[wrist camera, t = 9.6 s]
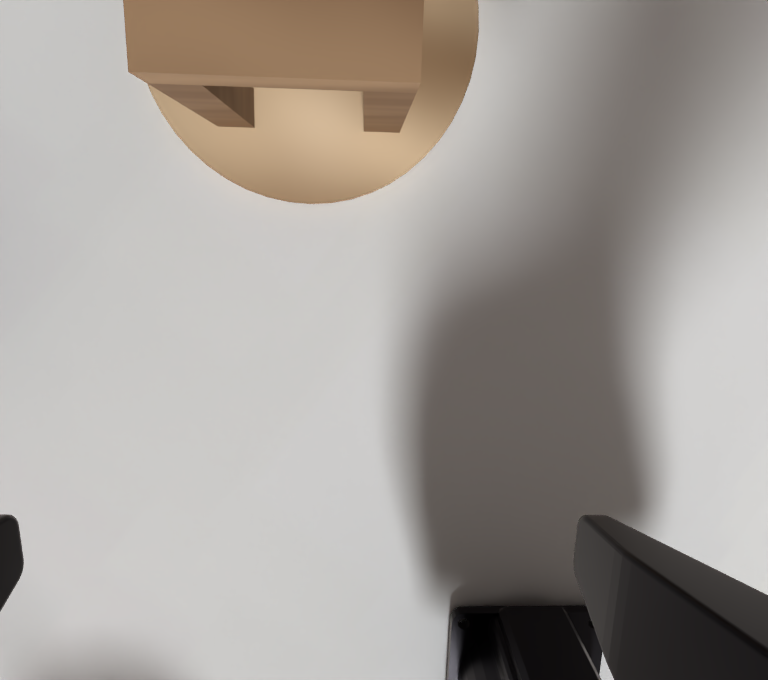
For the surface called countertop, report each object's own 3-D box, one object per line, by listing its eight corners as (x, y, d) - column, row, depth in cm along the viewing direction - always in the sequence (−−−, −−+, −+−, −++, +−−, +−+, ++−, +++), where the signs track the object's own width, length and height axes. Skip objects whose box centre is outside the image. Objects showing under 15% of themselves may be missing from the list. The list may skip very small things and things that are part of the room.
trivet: (465, 207, 19) (469, 207, 19) (151, 199, 19) (145, 199, 18) (485, -156, 17) (489, -169, 16) (126, -174, 17) (117, -189, 16)
